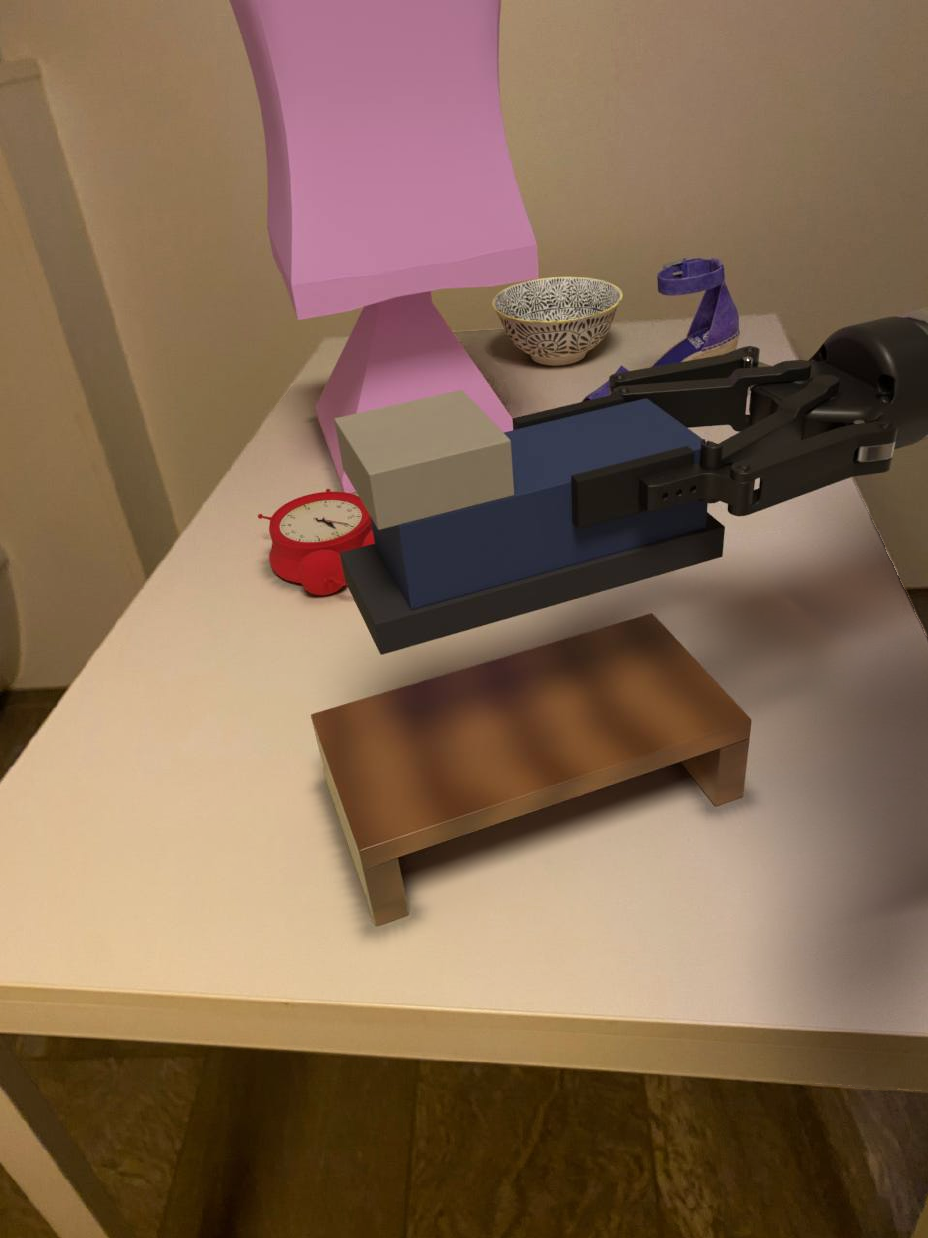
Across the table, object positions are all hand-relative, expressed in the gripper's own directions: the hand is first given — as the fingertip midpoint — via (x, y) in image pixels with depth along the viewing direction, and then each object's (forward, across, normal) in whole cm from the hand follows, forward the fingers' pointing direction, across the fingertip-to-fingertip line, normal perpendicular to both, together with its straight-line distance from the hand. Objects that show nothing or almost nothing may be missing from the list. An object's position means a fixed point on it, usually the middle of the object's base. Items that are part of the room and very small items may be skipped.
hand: (544, 470), depth 51 cm
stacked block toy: (+1, 0, -6) cm, 6 cm away
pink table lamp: (-7, +53, -22) cm, 57 cm away
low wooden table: (+3, -2, -22) cm, 22 cm away
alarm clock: (+8, +32, -22) cm, 39 cm away
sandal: (-32, +46, -22) cm, 60 cm away
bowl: (-30, +66, -22) cm, 76 cm away
